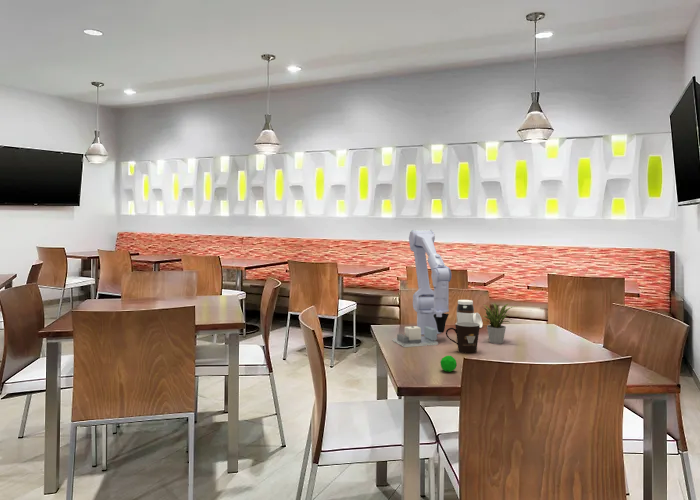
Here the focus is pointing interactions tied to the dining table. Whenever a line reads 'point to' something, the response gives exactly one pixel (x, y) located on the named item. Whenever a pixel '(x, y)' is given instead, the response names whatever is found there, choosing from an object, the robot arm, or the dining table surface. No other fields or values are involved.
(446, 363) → the polyhedron
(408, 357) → the dining table surface
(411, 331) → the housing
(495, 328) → the house plant
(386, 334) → the dining table surface
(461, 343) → the coffee mug
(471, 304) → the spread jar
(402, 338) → the press frame
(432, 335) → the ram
